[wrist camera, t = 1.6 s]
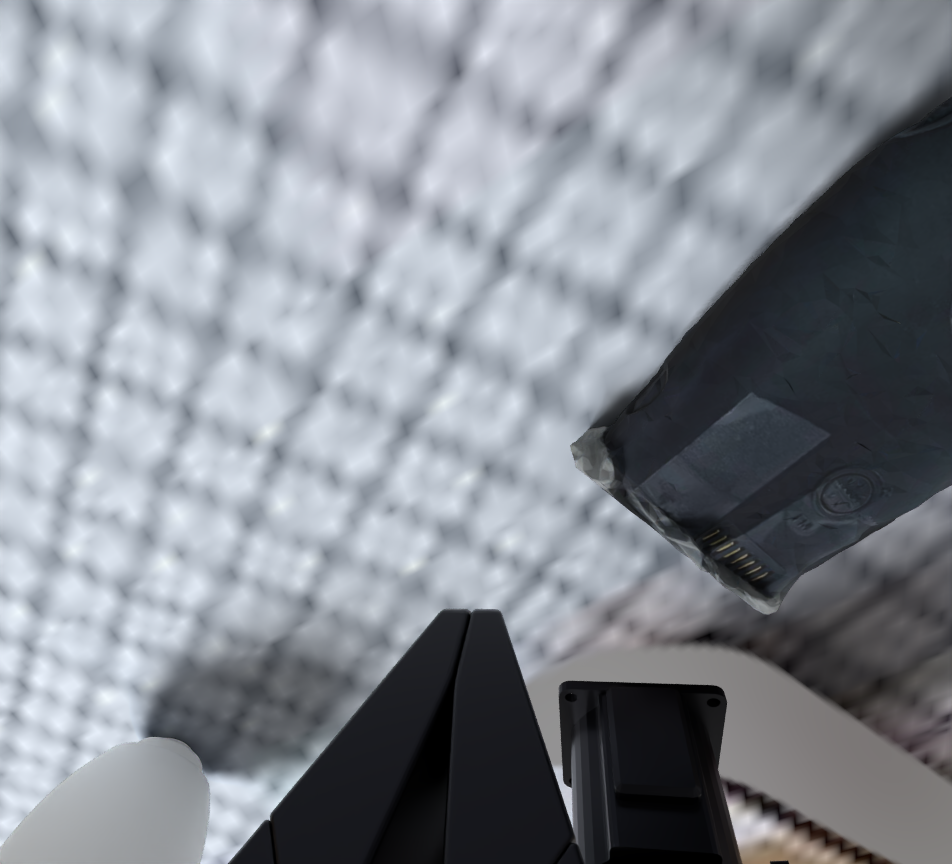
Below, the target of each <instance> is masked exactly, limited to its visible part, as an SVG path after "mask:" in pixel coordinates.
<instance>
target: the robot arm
mask: <svg viewBox="0 0 952 864" xmlns="http://www.w3.org/2000/svg"><path fill="white" fill-rule="evenodd" d="M571 693H572V694H571ZM726 707H727V700H726V697H725V694H724V691H723V690H722V689H721V688H720V687H718V686H714V685H686V684H655V683H624V682H592V681H566V682H563V683H562V684H561V685H560V686H559V709H560V728H561V746H562V765H563V781H564V784H566V785H567V786H569V787H571V788H572V811H573V828H572V825H571V822H570V819H569V816H568V813H567V810H566V807H565V804H564V801H563V798H562V794H561V791H560V788H559V785H558V782H557V779H556V776H555V773H554V770H553V767H552V764H551V761H550V758H549V755H548V752H547V749H546V746H545V743H544V740H543V737H542V734H541V731H540V728H539V725H538V722H537V719H536V716H535V713H534V710H533V707H532V704H531V700H530V698H529V695H528V691H527V688H526V685H525V682H524V679H523V676H522V673H521V670H520V667H519V664H518V661H517V658H516V655H515V652H514V649H513V646H512V643H511V640H510V637H509V634H508V631H507V628H506V625H505V622H504V619H503V616H502V613H501V612H500V611H499V610H496V609H475V610H474V611H473V612H472V613H471V611H469V610H468V609H444V610H442V611H441V612H440V613H439V614H438V615H437V616H436V617H435V619H434V620H433V621H432V622H431V623H430V624H429V626H428V627H427V628H426V629H425V630H424V632H423V633H422V634H421V635H420V636H419V638H418V639H417V640H416V641H415V642H414V644H413V645H412V646H411V647H410V648H409V650H408V651H407V652H406V653H405V654H404V655H403V657H402V658H401V659H400V660H399V661H398V663H397V664H396V665H395V666H394V667H393V669H392V670H391V671H390V672H389V673H388V675H387V676H386V677H385V678H384V679H383V680H382V682H381V683H380V684H379V685H378V686H377V688H376V689H375V690H374V691H373V692H372V694H371V695H370V696H369V697H368V698H367V700H366V701H365V702H364V703H363V704H362V706H361V707H360V708H359V709H358V710H357V711H356V713H355V714H354V715H353V716H352V717H351V719H350V720H349V721H348V722H347V723H346V725H345V726H344V727H343V728H342V729H341V731H340V732H339V733H338V734H337V735H336V736H335V738H334V739H333V740H332V741H331V742H330V744H329V745H328V746H327V747H326V748H325V750H324V751H323V752H322V753H321V754H320V756H319V757H318V758H317V759H316V760H315V761H314V763H313V764H312V765H311V766H310V767H309V769H308V770H307V771H306V772H305V773H304V775H303V776H302V777H301V778H300V779H299V781H298V782H297V783H296V784H295V785H294V787H293V788H292V789H291V790H290V791H289V792H288V794H287V795H286V796H285V797H284V798H283V800H282V801H281V802H280V803H279V804H278V806H277V807H276V808H275V809H274V810H273V812H272V813H271V815H270V821H271V822H270V821H269V820H265V821H264V822H263V823H262V824H261V825H260V827H259V828H258V829H257V830H256V831H255V833H254V834H253V835H252V836H251V837H250V839H249V840H248V841H247V842H246V843H245V844H244V846H243V847H242V848H241V849H240V850H239V852H238V853H237V854H236V855H235V856H234V857H233V858H232V860H231V861H230V862H229V863H228V864H742V860H741V857H740V853H739V849H738V845H737V841H736V837H735V833H734V829H733V826H732V822H731V818H730V814H729V810H728V806H727V802H726V799H725V795H724V791H723V787H722V783H721V779H720V775H719V771H718V765H719V758H720V750H721V743H722V736H723V728H724V722H725V714H726ZM770 864H789V862H788V861H770Z"/></svg>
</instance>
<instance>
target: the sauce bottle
mask: <svg viewBox="0 0 952 864" xmlns="http://www.w3.org/2000/svg"><path fill="white" fill-rule="evenodd" d="M209 813H210V788H209V783H208V781H207V778H206V776H205V775H204V774H203V772H202V763H201V761H200V759H199V757H198V756H197V755H196V754H195V753H194V752H193V751H192V749H191V748H190V747H189V746H188V745H187V744H185V743H184V742H182V741H179V740H177V739H173V738H161V737H148V738H145V739H143V740H141V741H139V742H130V743H123V744H120V745H117V746H115V747H113V748H111V749H109V750H108V751H106V752H104V753H102V754H101V755H99V756H98V757H96V758H94V759H93V760H91V761H90V762H88V763H87V764H85V765H84V766H82V767H81V768H80V769H78V770H77V771H75V772H74V773H73V774H71V775H70V776H69V777H68V778H66V779H65V780H64V781H63V782H61V783H60V784H59V785H58V786H57V787H56V788H54V789H53V790H52V791H51V792H50V793H49V794H48V795H47V796H46V797H45V798H44V799H43V800H42V801H41V802H40V803H39V804H38V805H37V806H36V807H35V808H34V809H33V810H32V811H31V812H30V813H29V814H28V815H27V816H26V818H25V819H24V820H23V821H22V822H21V823H20V824H19V825H18V827H17V828H16V829H15V830H14V831H13V833H12V834H11V835H10V836H9V837H8V839H7V840H6V841H5V842H4V844H3V845H2V846H1V847H0V864H200V862H201V858H202V854H203V850H204V845H205V840H206V835H207V829H208V823H209Z"/></svg>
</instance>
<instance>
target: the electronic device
mask: <svg viewBox="0 0 952 864" xmlns="http://www.w3.org/2000/svg"><path fill="white" fill-rule="evenodd" d="M570 447H571V451H572V454H573V457H574V460H575V465H576V468H578V469H579V470H580V471H581V472H583V473H584V474H585V475H586V476H588V477H589V478H590V479H591V480H593V481H594V482H595V483H596V484H597V485H599V486H600V487H601V488H602V489H604V490H605V491H606V492H607V493H609V494H610V495H611V496H612V497H614V498H615V499H616V500H617V501H619V502H620V503H621V504H622V505H623V506H625V507H626V508H627V509H628V510H630V511H631V512H632V513H633V514H635V515H636V516H638V517H639V518H640V519H642V520H643V521H645V522H646V523H647V524H648V525H650V526H651V527H652V528H653V529H654V530H656V531H657V532H658V533H659V534H660V535H662V536H663V537H664V538H665V539H666V540H667V541H668V542H670V543H671V544H672V545H673V546H674V547H675V548H676V549H677V550H679V551H680V552H681V553H683V554H684V555H686V556H687V557H689V558H690V559H691V560H692V561H693V562H694V563H695V564H696V565H697V566H698V567H699V569H700V570H702V571H705V572H709V573H710V574H711V575H712V576H713V577H714V578H715V579H716V580H717V581H718V582H719V583H720V584H721V585H723V586H724V587H725V588H727V589H729V590H730V591H732V592H733V593H734V594H736V595H737V596H738V597H740V598H741V599H742V600H744V601H745V602H746V603H747V604H749V605H750V606H751V607H753V608H754V609H755V610H758V611H760V612H761V613H763V614H768V615H769V614H771V613H774V612H777V610H778V608H779V606H780V604H781V602H782V601H783V599H784V597H785V595H786V594H787V592H788V591H789V590H790V588H791V587H792V586H793V584H794V583H795V582H796V581H797V580H798V578H799V577H800V576H801V575H803V574H804V573H806V572H808V571H810V570H812V569H814V568H816V567H818V566H819V565H821V564H823V563H824V562H826V561H827V560H829V559H830V558H832V557H833V556H835V555H836V554H838V553H840V552H842V551H843V550H845V549H847V548H849V547H851V546H853V545H855V544H856V543H858V542H859V541H861V540H862V539H864V538H865V537H867V536H868V535H870V534H872V533H873V532H875V531H877V530H880V529H881V528H883V527H885V526H886V525H888V524H889V523H891V522H893V521H894V520H895V519H896V518H898V517H899V516H901V515H903V514H905V513H907V512H909V511H911V510H913V509H915V508H917V507H918V506H920V505H921V504H922V503H924V502H925V501H926V500H927V499H929V498H930V497H932V496H933V495H935V494H936V493H938V492H939V491H941V490H943V489H945V488H947V487H949V486H951V485H952V98H950V99H948V100H947V101H946V102H944V103H943V104H941V105H940V106H939V107H937V108H936V109H934V110H933V111H932V112H930V113H929V114H928V115H927V116H926V117H925V118H924V119H923V120H922V121H921V122H919V123H918V124H916V125H913V126H911V127H909V128H907V129H905V130H904V131H902V132H900V133H898V134H897V135H895V136H893V137H892V138H890V139H889V140H887V141H886V142H884V143H883V144H882V145H881V146H879V147H878V148H877V149H875V150H874V151H873V152H871V153H870V154H869V155H867V156H866V157H865V158H863V159H862V160H861V161H860V162H858V163H857V164H856V165H854V166H853V167H852V168H851V169H850V170H849V171H848V172H847V173H845V174H844V175H843V176H842V177H841V178H840V179H839V180H838V181H837V182H836V183H835V184H834V185H833V186H832V187H831V188H830V189H829V190H827V191H826V192H825V193H824V194H823V195H822V196H821V197H820V198H819V199H818V200H817V201H816V202H815V203H814V204H813V205H812V206H811V207H810V208H809V209H808V210H807V211H805V212H804V213H803V214H802V215H800V216H799V217H798V218H796V219H795V221H794V222H793V223H792V224H791V226H790V227H789V228H788V229H787V230H786V231H785V232H784V233H783V234H782V235H780V236H779V237H778V238H777V239H776V240H775V241H774V243H773V244H772V245H771V246H770V247H769V248H768V249H767V250H766V251H765V252H764V253H763V254H762V255H761V256H760V257H758V258H757V259H756V260H755V261H754V262H753V263H752V264H750V266H749V267H748V268H747V269H746V271H745V272H744V273H743V274H742V275H741V277H740V278H739V279H738V280H737V281H736V282H735V283H734V284H733V285H732V286H731V287H730V288H729V289H728V290H727V291H726V292H725V293H724V294H723V295H722V296H721V297H720V298H719V299H718V300H717V302H716V303H715V304H714V305H713V306H712V307H711V308H710V309H709V310H708V311H707V313H706V314H705V315H704V316H703V317H702V318H701V319H700V321H699V322H698V323H696V324H695V325H694V326H693V327H692V328H691V329H690V330H689V331H688V332H687V333H686V334H685V335H684V337H683V338H682V340H681V341H680V343H679V344H678V345H677V346H676V347H675V348H674V350H673V351H672V352H671V353H670V355H669V356H668V357H667V358H666V359H665V361H664V363H663V365H662V366H661V367H660V370H659V372H658V373H657V374H656V375H655V376H654V377H653V378H652V379H651V381H650V382H649V384H648V385H647V386H646V387H645V388H644V389H643V390H642V391H641V392H640V393H639V394H638V396H637V397H636V398H635V399H634V400H633V401H632V402H631V403H630V405H629V406H628V407H627V408H626V409H625V410H624V411H623V412H622V414H621V415H620V416H619V418H618V419H617V420H616V422H615V423H614V425H612V426H609V427H604V426H603V427H598V428H592V429H588V430H587V431H586V432H585V433H584V434H583V436H581V437H580V438H579V439H578V440H577V441H576V442H574V443H572V444H571V445H570Z"/></svg>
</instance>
